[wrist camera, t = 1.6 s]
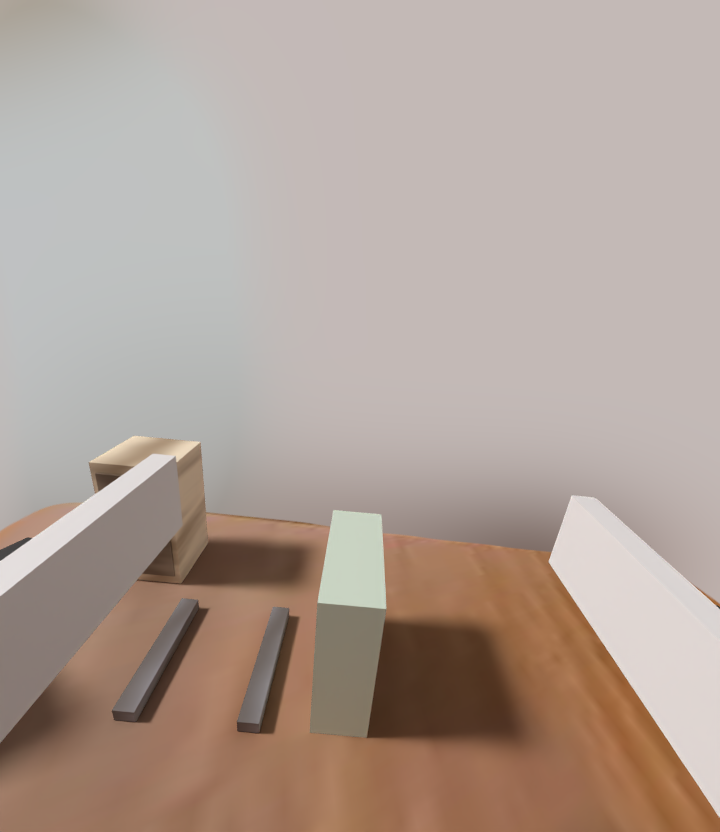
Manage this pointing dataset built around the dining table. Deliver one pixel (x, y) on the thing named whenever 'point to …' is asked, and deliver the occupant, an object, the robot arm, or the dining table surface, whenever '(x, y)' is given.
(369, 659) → the pale green block
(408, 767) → the dining table surface
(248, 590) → the dining table surface
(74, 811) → the dining table surface
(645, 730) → the dining table surface
